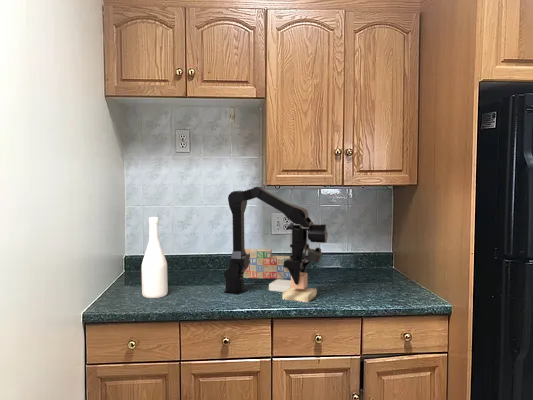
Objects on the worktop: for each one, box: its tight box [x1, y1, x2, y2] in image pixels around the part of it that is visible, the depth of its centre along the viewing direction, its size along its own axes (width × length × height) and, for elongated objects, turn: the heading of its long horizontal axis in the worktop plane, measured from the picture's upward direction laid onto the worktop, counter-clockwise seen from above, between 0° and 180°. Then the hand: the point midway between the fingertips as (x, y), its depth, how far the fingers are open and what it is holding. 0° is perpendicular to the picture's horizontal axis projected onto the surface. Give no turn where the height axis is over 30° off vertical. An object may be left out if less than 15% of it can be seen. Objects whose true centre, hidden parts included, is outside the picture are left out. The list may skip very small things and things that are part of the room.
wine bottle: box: [141, 216, 168, 299], centre depth 174 cm, size 10×10×30 cm
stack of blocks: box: [242, 248, 293, 280], centre depth 205 cm, size 21×6×12 cm, turn 83°
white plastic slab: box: [268, 279, 291, 293], centre depth 184 cm, size 9×9×3 cm
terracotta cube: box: [290, 272, 309, 289], centre depth 172 cm, size 5×5×5 cm
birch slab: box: [282, 287, 318, 303], centre depth 172 cm, size 10×10×3 cm
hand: (299, 282), depth 172 cm, fingers open, 5 cm apart
